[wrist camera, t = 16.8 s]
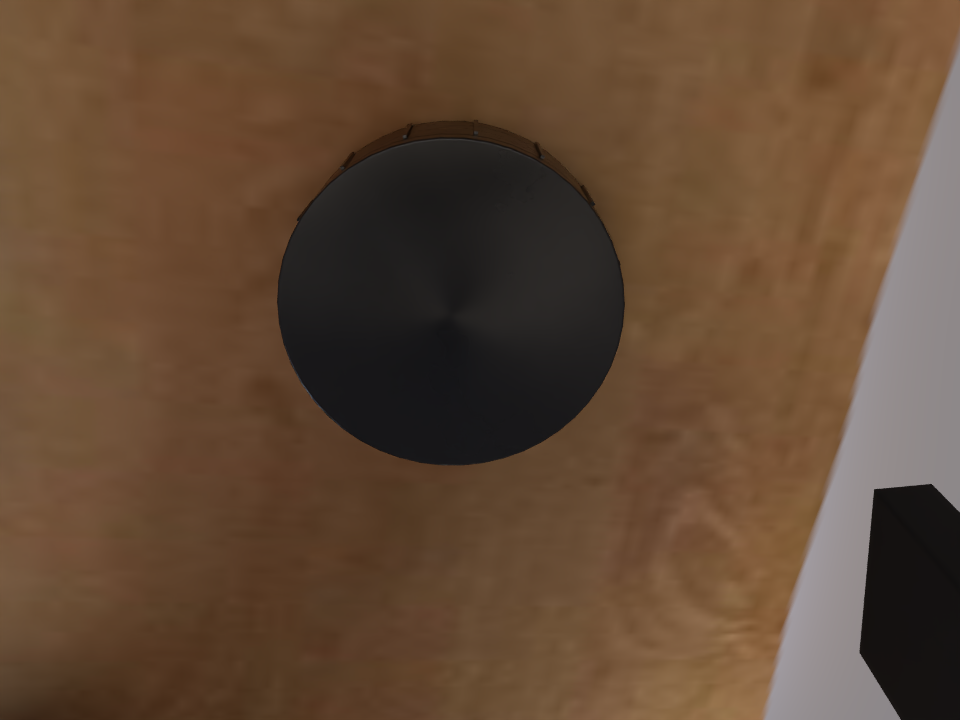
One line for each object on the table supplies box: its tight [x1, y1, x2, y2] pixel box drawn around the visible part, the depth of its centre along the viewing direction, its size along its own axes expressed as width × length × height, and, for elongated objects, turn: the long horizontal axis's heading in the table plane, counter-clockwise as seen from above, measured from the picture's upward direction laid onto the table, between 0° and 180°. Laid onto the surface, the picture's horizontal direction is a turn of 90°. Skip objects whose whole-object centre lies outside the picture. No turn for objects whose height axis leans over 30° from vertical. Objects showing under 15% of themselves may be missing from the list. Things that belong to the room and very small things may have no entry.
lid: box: [277, 120, 625, 465], centre depth 24 cm, size 9×9×3 cm
